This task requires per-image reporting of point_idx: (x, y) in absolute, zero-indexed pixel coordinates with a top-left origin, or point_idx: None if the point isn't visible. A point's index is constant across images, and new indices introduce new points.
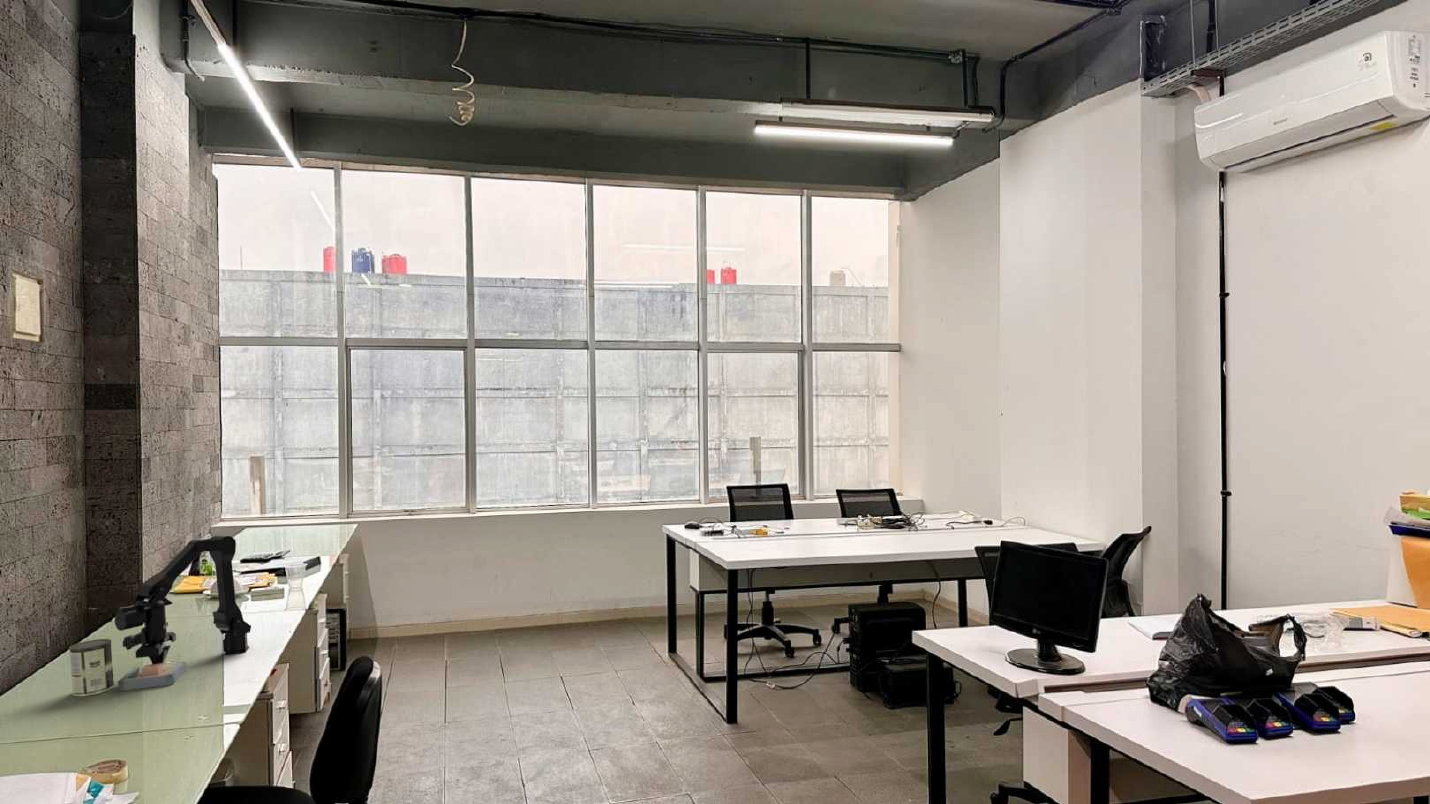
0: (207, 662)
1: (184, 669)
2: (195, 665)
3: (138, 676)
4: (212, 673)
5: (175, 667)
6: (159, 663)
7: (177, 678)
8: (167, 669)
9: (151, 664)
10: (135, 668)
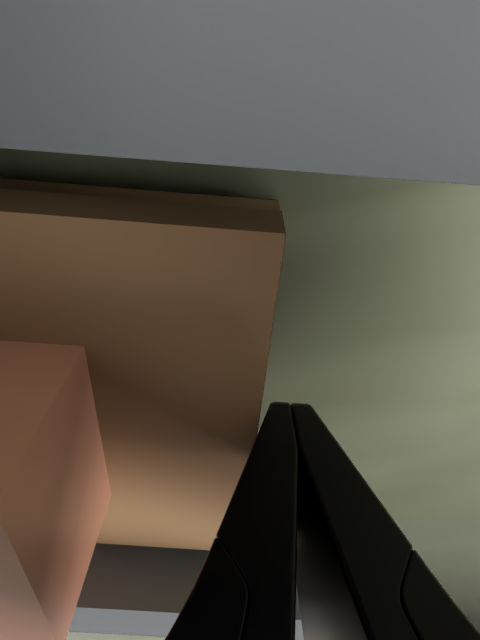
0: (469, 604)
1: None
2: (449, 565)
3: (9, 239)
4: None
5: (105, 613)
6: (48, 632)
7: None
8: None
9: (11, 570)
10: (478, 95)
